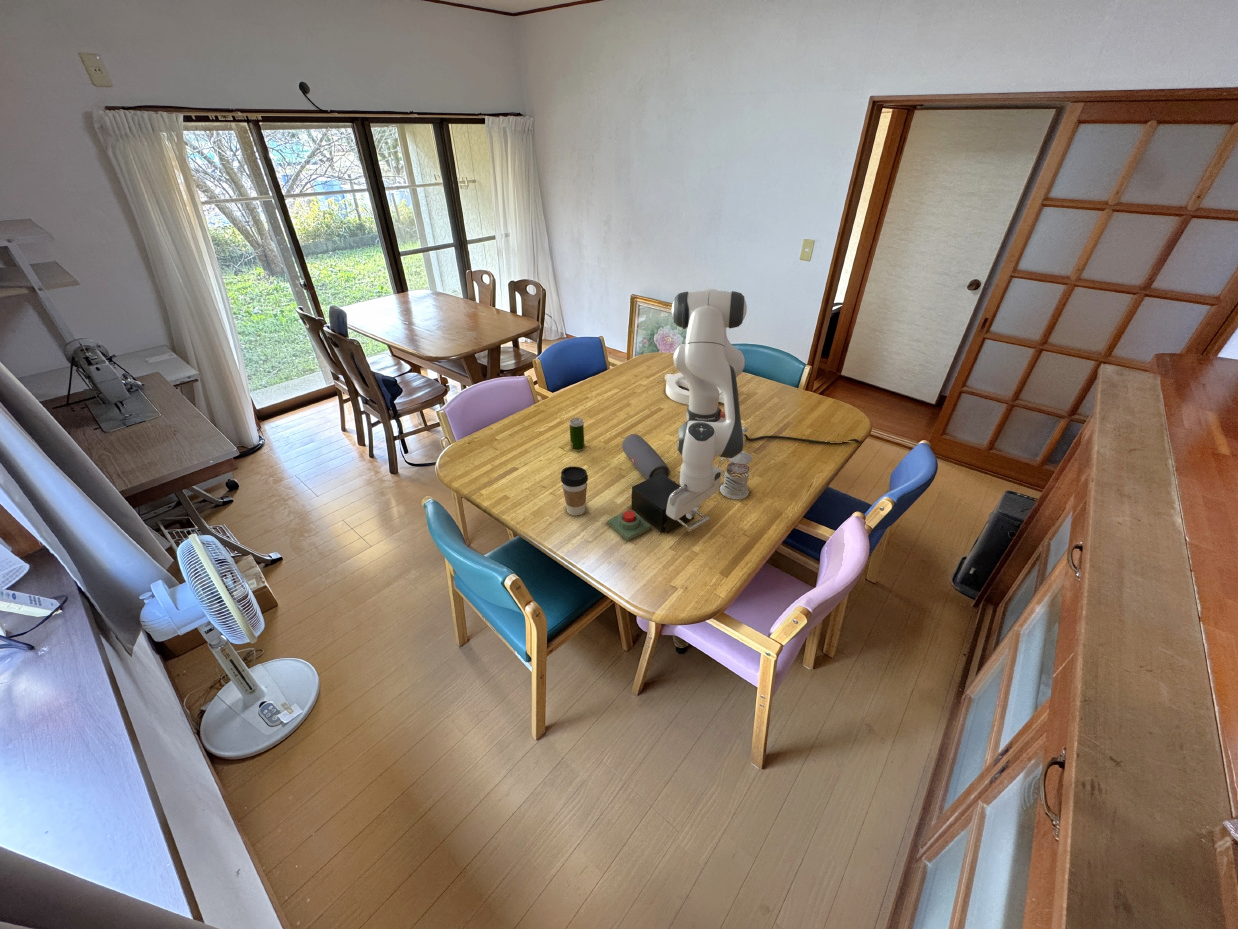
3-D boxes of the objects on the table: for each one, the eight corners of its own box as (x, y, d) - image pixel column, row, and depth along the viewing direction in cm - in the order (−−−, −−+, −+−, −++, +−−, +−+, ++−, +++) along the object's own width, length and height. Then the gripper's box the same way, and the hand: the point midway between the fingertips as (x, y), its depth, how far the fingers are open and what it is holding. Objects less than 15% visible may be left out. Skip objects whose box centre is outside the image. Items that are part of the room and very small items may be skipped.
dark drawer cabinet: (690, 516, 154) (693, 494, 149) (661, 532, 148) (662, 509, 143) (660, 494, 164) (661, 472, 159) (631, 508, 158) (631, 486, 152)
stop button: (637, 519, 148) (637, 515, 147) (628, 524, 147) (628, 519, 146) (630, 513, 151) (630, 509, 150) (621, 518, 149) (621, 513, 148)
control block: (650, 529, 149) (650, 520, 147) (627, 541, 145) (628, 532, 143) (630, 512, 156) (630, 504, 154) (607, 523, 151) (607, 515, 149)
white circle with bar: (729, 406, 219) (730, 396, 216) (667, 405, 219) (668, 395, 216) (719, 380, 242) (720, 371, 240) (663, 380, 242) (664, 371, 240)
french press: (742, 502, 161) (755, 438, 147) (710, 491, 166) (719, 428, 152) (752, 487, 167) (765, 425, 153) (721, 477, 173) (730, 415, 159)
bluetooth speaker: (620, 458, 183) (620, 435, 177) (642, 452, 186) (643, 430, 180) (646, 491, 165) (647, 467, 160) (670, 485, 168) (672, 461, 163)
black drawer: (711, 531, 147) (714, 512, 143) (684, 547, 142) (686, 528, 138) (665, 497, 161) (666, 480, 157) (639, 511, 155) (639, 493, 151)
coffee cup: (563, 502, 160) (560, 464, 152) (588, 501, 161) (587, 463, 152) (562, 518, 153) (560, 480, 145) (589, 517, 154) (588, 479, 145)
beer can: (575, 452, 185) (573, 425, 179) (568, 446, 189) (566, 419, 182) (587, 448, 188) (586, 421, 181) (580, 442, 192) (579, 416, 185)
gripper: (680, 498, 128) (676, 537, 135) (726, 469, 139) (720, 506, 147) (662, 488, 131) (659, 526, 139) (708, 460, 143) (703, 497, 151)
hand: (691, 516), depth 143 cm, fingers closed
